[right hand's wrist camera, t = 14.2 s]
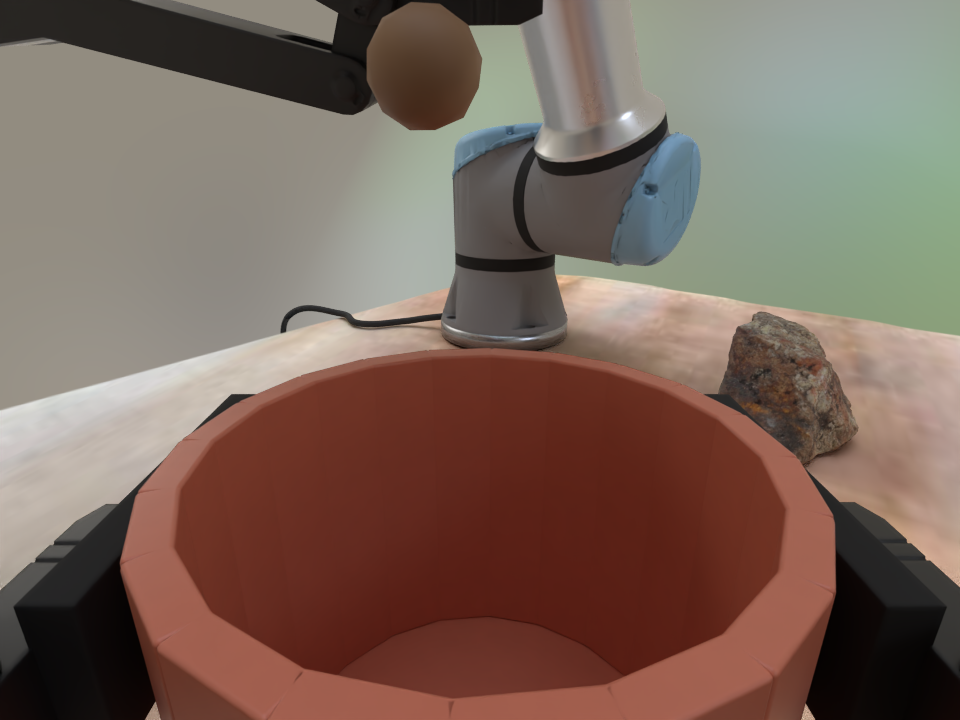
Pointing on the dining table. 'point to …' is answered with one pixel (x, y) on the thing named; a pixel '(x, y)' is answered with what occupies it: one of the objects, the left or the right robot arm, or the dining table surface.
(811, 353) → the rock
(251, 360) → the dining table surface
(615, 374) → the pot
